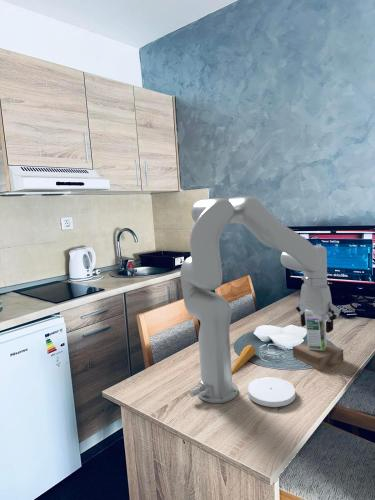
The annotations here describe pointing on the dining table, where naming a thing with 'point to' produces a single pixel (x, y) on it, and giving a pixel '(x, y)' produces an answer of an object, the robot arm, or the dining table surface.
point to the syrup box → (315, 331)
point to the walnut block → (318, 356)
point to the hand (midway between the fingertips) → (316, 328)
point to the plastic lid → (271, 391)
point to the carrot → (244, 357)
